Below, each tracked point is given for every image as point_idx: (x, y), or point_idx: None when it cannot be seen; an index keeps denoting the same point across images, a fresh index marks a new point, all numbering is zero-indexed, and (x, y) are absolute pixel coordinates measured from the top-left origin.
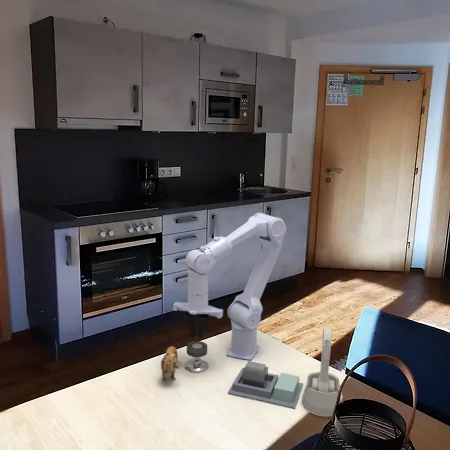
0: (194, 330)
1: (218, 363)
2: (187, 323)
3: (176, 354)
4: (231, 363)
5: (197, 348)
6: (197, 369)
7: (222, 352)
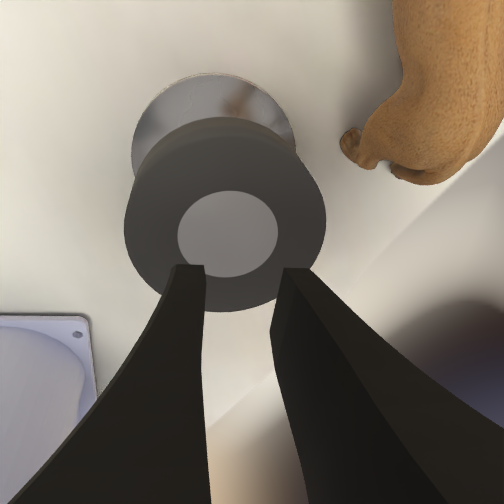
0: (293, 359)
1: (94, 232)
2: (475, 419)
3: (388, 115)
4: (16, 255)
5: (208, 191)
6: (191, 105)
7: (125, 336)
